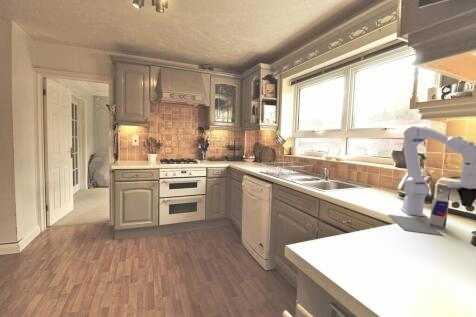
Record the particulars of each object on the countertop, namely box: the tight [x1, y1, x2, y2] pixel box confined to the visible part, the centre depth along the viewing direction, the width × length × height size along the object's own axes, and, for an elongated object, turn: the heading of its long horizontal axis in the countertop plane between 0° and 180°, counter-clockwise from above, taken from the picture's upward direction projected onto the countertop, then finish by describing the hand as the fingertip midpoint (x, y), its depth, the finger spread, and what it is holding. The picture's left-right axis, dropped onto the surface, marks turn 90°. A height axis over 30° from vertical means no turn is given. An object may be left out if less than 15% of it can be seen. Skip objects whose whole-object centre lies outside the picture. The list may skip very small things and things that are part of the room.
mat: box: [388, 214, 444, 237], centre depth 103 cm, size 20×13×1 cm, turn 164°
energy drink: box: [428, 197, 450, 230], centre depth 100 cm, size 5×5×12 cm
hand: (466, 206), depth 97 cm, fingers closed
